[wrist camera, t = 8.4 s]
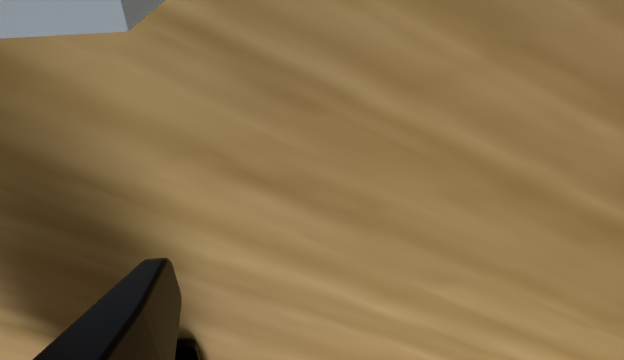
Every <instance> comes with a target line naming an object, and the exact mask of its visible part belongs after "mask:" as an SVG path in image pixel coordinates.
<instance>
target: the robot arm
mask: <svg viewBox="0 0 624 360" xmlns="http://www.w3.org/2000/svg"><path fill="white" fill-rule="evenodd" d="M180 311H181V293H180V289H179V286H178V282H177V279H176V276H175V272H174V269H173V266H172V263H171V261H170V260H169V259H167V258H156V259H147V260H144V261H143V262H141V263H140V264H139V265H138V266H137V267H136V268H135V269H133V270H132V271H131V272H130V273H129V274H128V275H127V276H126V277H125V278H123V279H122V280H121V281H120V282H119V283H118V284H117V285H116V286H114V287H113V288H112V289H111V290H110V291H109V292H108V293H107V294H105V295H104V296H103V297H102V298H101V299H100V300H99V301H98V302H97V303H95V304H94V305H93V306H92V307H91V308H90V309H89V310H88V311H86V312H85V313H84V314H83V315H82V316H81V317H80V318H79V319H77V320H76V321H75V322H74V323H73V324H72V325H71V326H70V327H69V328H67V329H66V330H65V331H64V332H63V333H62V334H61V335H60V336H58V337H57V338H56V339H55V340H54V341H53V342H52V343H51V344H49V345H48V346H47V347H46V348H45V349H44V350H43V351H42V352H41V353H39V354H38V355H37V356H36V357H35V358H34V359H33V360H201V357H200V353H199V349H198V345H197V343H196V342H195V341H193V340H188V339H186V340H177V336H178V328H179V319H180Z"/></svg>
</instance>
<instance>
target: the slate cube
mask: <svg viewBox="0 0 624 360" xmlns="http://www.w3.org/2000/svg"><path fill="white" fill-rule="evenodd" d="M164 1H165V0H0V39H2V38H19V37H37V36H54V35H72V34H89V33H107V32H125V31H129V30H130V29H132V28H133V27H134V26H135V25H136V24H138V23H139V22H140V21H141V20H142V19H143V18H145V17H146V16H147V15H148V14H149V13H151V12H152V11H153V10H154V9H155V8H157V7H158V6H159V5H160V4H161V3H162V2H164Z"/></svg>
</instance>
